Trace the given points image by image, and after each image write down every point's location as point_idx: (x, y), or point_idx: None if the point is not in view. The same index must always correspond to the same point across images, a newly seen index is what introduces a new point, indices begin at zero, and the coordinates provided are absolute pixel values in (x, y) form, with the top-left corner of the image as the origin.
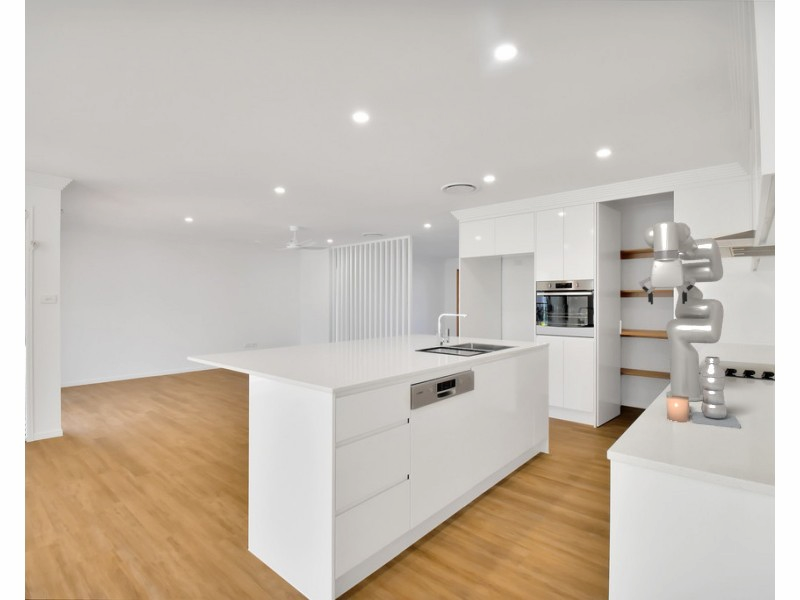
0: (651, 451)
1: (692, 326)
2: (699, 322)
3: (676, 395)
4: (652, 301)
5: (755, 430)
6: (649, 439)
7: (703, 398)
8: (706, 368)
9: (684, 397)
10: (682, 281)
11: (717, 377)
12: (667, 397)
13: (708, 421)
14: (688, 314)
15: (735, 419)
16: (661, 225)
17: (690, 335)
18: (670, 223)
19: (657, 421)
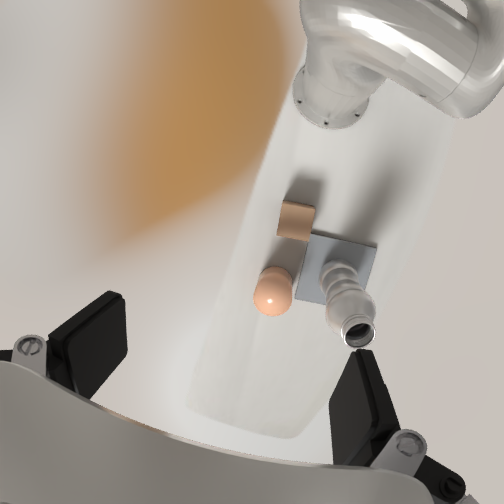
0: (217, 405)
1: (410, 65)
2: (446, 63)
3: (291, 206)
4: (115, 364)
5: None
6: (218, 376)
7: (323, 289)
8: (336, 331)
9: (304, 223)
10: None
11: (350, 331)
12: (256, 291)
13: (318, 298)
14: None
15: (366, 275)
16: None
17: (387, 77)
18: None
19: (239, 300)
